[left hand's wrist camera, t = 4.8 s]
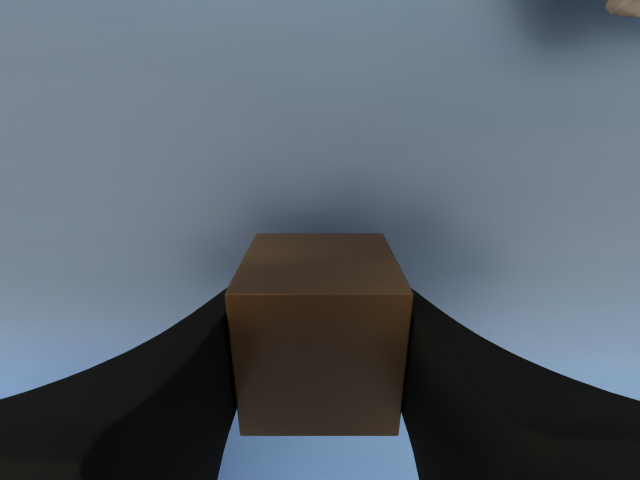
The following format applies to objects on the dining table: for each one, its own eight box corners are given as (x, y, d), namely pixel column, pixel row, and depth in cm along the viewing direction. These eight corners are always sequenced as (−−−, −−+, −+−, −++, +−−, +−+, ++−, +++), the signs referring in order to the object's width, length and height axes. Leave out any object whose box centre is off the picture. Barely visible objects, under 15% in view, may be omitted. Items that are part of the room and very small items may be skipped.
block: (383, 233, 12) (414, 293, 8) (375, 341, 13) (398, 436, 9) (255, 233, 12) (223, 293, 8) (263, 341, 13) (239, 436, 9)
